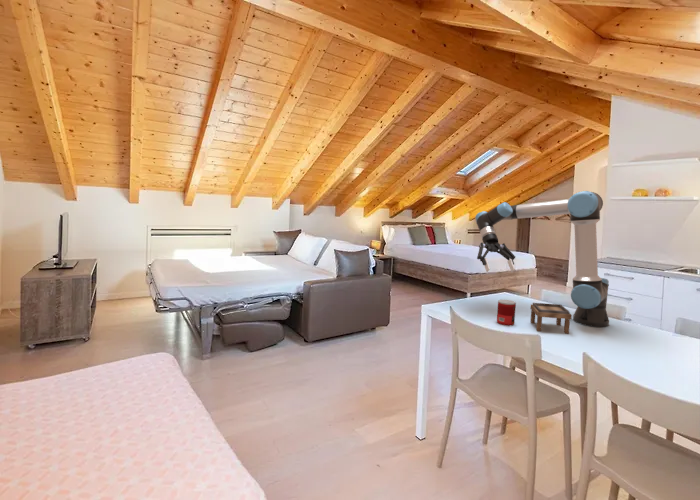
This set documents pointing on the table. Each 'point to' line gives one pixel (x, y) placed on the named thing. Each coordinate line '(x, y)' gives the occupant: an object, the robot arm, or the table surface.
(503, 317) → the canned food
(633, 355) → the table surface
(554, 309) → the stool
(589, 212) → the robot arm
